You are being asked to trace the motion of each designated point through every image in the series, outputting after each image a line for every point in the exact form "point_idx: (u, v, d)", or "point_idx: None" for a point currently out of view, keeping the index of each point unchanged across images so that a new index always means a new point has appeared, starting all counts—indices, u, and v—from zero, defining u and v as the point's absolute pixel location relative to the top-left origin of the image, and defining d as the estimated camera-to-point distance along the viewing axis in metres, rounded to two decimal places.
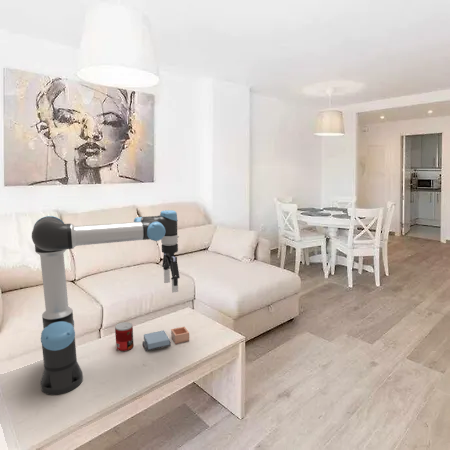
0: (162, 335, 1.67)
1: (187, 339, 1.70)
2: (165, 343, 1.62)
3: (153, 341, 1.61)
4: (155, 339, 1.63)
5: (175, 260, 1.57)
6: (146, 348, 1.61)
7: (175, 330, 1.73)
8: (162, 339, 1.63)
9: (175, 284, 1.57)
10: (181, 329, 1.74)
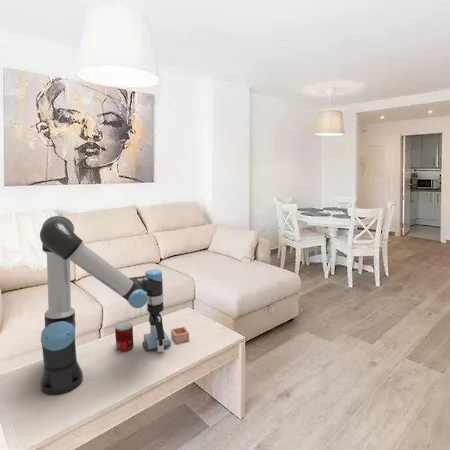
0: None
1: (187, 339, 1.70)
2: (165, 343, 1.62)
3: (153, 341, 1.61)
4: (155, 339, 1.63)
5: (160, 320, 1.57)
6: (146, 348, 1.61)
7: (175, 330, 1.73)
8: None
9: (160, 344, 1.58)
10: (181, 329, 1.74)
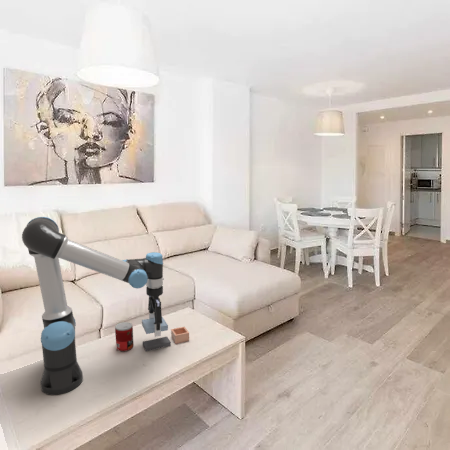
0: None
1: (187, 339, 1.70)
2: (163, 329, 1.61)
3: (151, 326, 1.59)
4: (153, 325, 1.61)
5: (159, 305, 1.56)
6: (146, 348, 1.61)
7: (175, 330, 1.73)
8: None
9: (158, 329, 1.57)
10: (181, 329, 1.74)
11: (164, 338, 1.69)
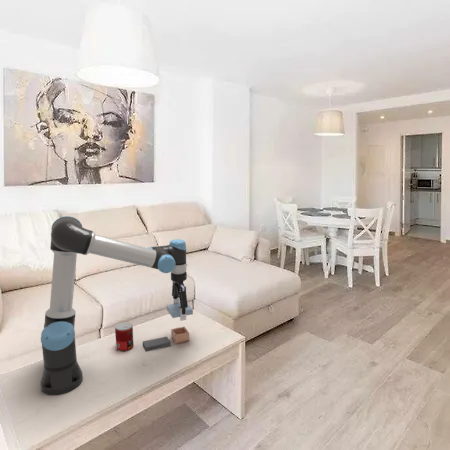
0: None
1: (187, 339, 1.70)
2: (188, 313, 1.66)
3: (177, 310, 1.65)
4: (178, 309, 1.66)
5: (184, 290, 1.61)
6: (146, 348, 1.61)
7: (175, 330, 1.73)
8: None
9: (183, 313, 1.63)
10: (181, 329, 1.74)
11: (164, 338, 1.69)
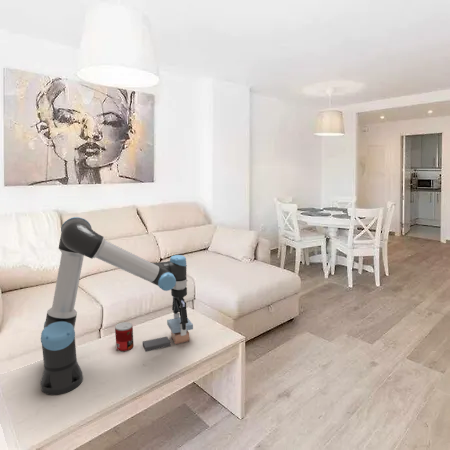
0: None
1: (187, 339, 1.70)
2: (189, 328, 1.67)
3: (177, 326, 1.66)
4: (178, 324, 1.68)
5: (184, 305, 1.62)
6: (146, 348, 1.61)
7: None
8: None
9: (183, 328, 1.64)
10: None
11: (164, 338, 1.69)
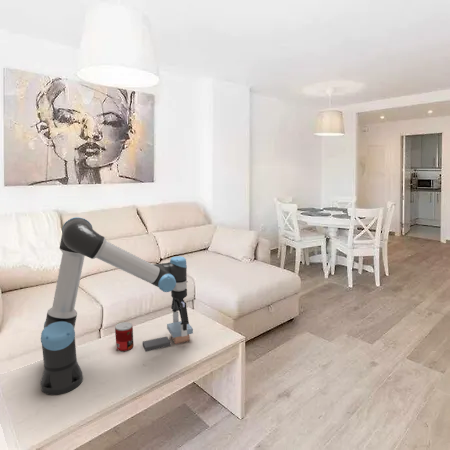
0: None
1: (187, 339, 1.70)
2: (188, 332, 1.68)
3: (177, 330, 1.66)
4: (178, 328, 1.68)
5: (184, 306, 1.62)
6: (146, 348, 1.61)
7: None
8: None
9: (184, 329, 1.63)
10: None
11: (164, 338, 1.69)
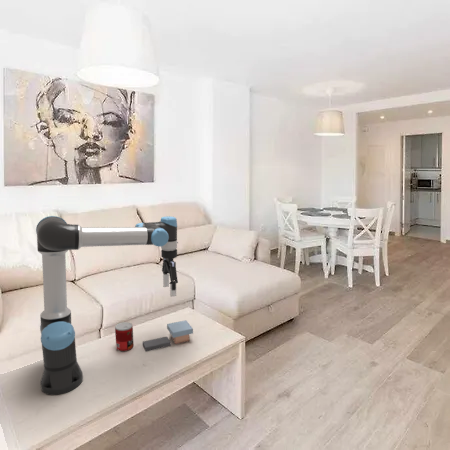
0: (185, 324, 1.72)
1: (187, 339, 1.70)
2: (188, 332, 1.68)
3: (177, 330, 1.66)
4: (178, 328, 1.68)
5: (174, 265, 1.61)
6: (146, 348, 1.61)
7: None
8: (185, 328, 1.68)
9: (173, 289, 1.61)
10: None
11: (164, 338, 1.69)
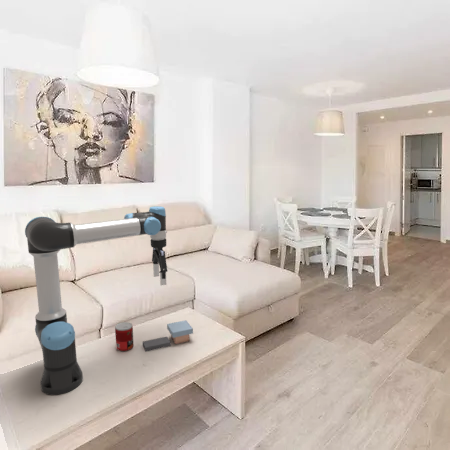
0: (185, 324, 1.72)
1: (187, 339, 1.70)
2: (188, 332, 1.68)
3: (177, 330, 1.66)
4: (178, 328, 1.68)
5: (163, 254, 1.63)
6: (146, 348, 1.61)
7: None
8: (185, 328, 1.68)
9: (163, 277, 1.63)
10: None
11: (164, 338, 1.69)
